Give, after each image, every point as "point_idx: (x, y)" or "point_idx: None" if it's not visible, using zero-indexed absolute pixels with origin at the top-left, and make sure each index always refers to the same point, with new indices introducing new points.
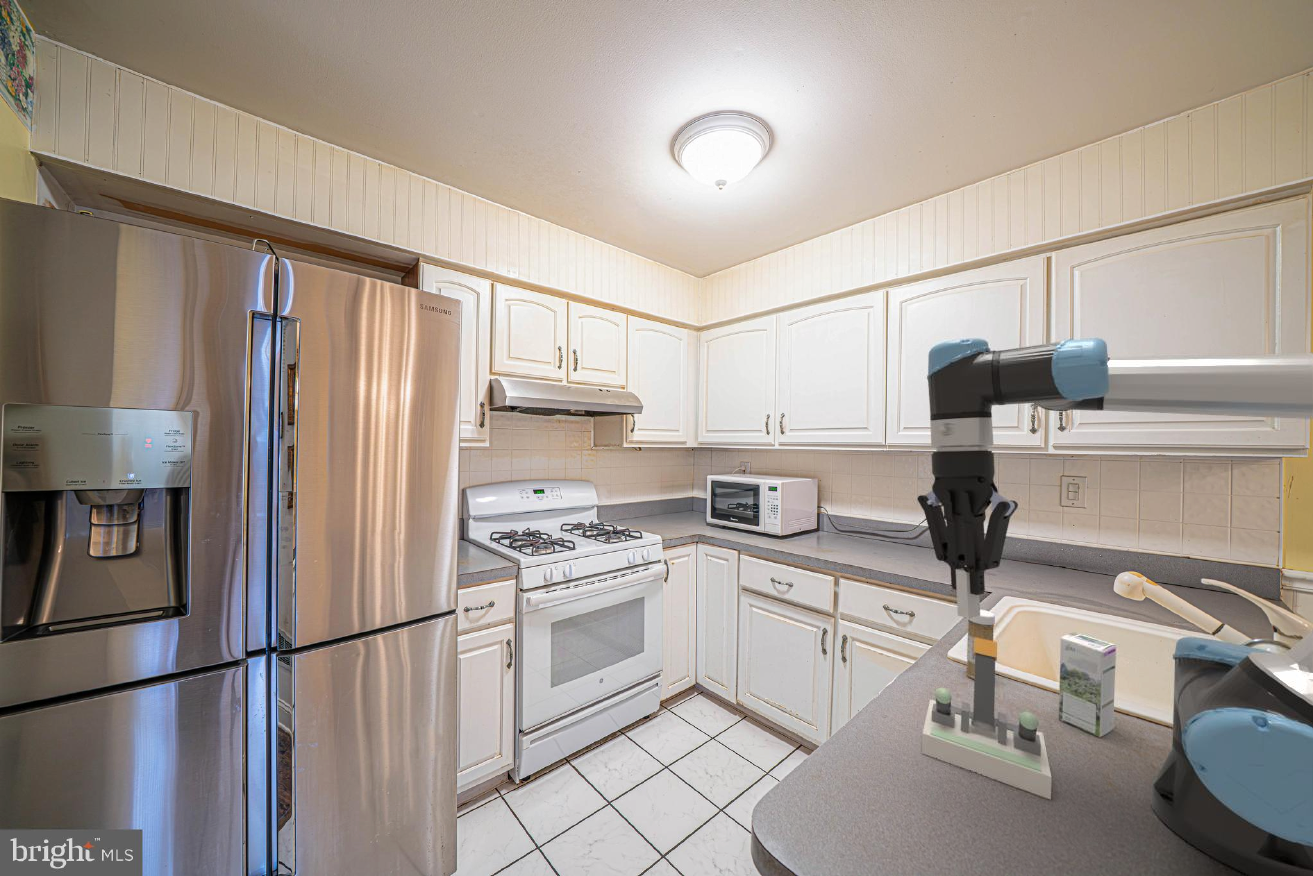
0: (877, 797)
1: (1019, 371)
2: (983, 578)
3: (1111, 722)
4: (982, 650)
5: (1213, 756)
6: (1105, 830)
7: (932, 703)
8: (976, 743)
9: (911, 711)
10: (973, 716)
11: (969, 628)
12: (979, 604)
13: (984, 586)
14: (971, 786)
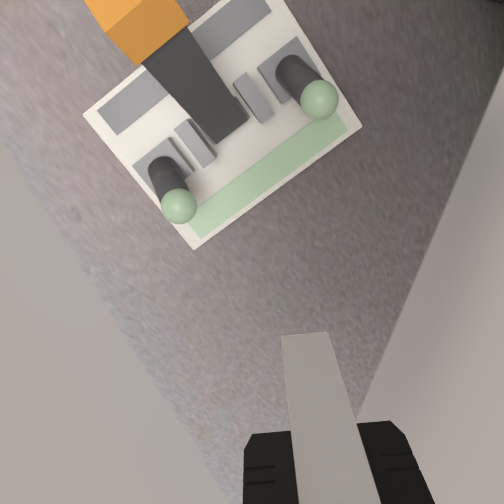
0: (260, 381)
1: None
2: (430, 502)
3: None
4: (150, 43)
5: None
6: (422, 110)
7: (100, 127)
8: (251, 176)
9: (67, 138)
10: (215, 142)
11: None
12: (336, 362)
13: (412, 454)
14: (286, 228)
